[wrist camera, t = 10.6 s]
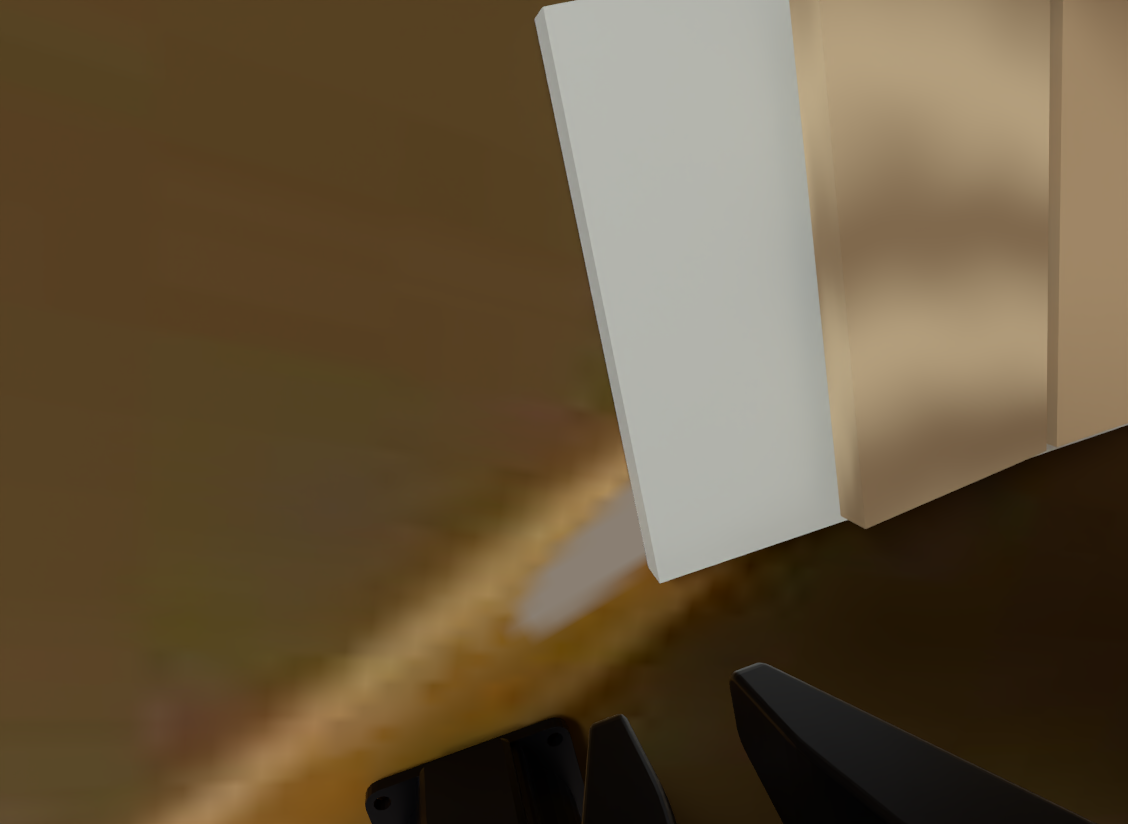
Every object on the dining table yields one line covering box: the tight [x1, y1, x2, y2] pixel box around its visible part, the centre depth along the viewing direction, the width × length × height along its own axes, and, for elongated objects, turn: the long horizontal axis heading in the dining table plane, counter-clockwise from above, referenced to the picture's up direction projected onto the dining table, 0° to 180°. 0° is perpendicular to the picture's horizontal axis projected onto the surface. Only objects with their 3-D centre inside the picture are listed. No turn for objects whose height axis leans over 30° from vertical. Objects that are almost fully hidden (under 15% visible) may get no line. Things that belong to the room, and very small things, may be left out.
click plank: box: [789, 0, 1050, 529], centre depth 18 cm, size 14×7×1 cm, turn 13°
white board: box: [535, 0, 1128, 583], centre depth 19 cm, size 16×20×2 cm
